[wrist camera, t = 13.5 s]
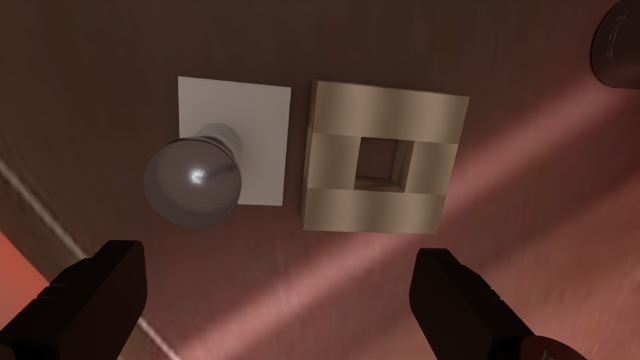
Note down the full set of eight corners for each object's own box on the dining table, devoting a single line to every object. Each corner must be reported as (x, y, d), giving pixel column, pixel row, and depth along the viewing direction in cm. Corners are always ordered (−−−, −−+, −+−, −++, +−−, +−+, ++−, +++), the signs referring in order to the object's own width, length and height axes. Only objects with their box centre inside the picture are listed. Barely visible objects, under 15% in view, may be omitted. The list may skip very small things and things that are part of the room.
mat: (290, 87, 32) (291, 87, 31) (281, 203, 36) (282, 205, 35) (179, 76, 30) (178, 76, 30) (182, 199, 34) (181, 201, 33)
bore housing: (448, 93, 34) (469, 97, 30) (420, 217, 39) (436, 234, 35) (312, 78, 32) (318, 81, 28) (299, 212, 36) (303, 230, 33)
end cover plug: (251, 116, 32) (242, 144, 21) (249, 176, 34) (239, 229, 23) (184, 111, 31) (140, 137, 20) (186, 173, 33) (146, 226, 22)
